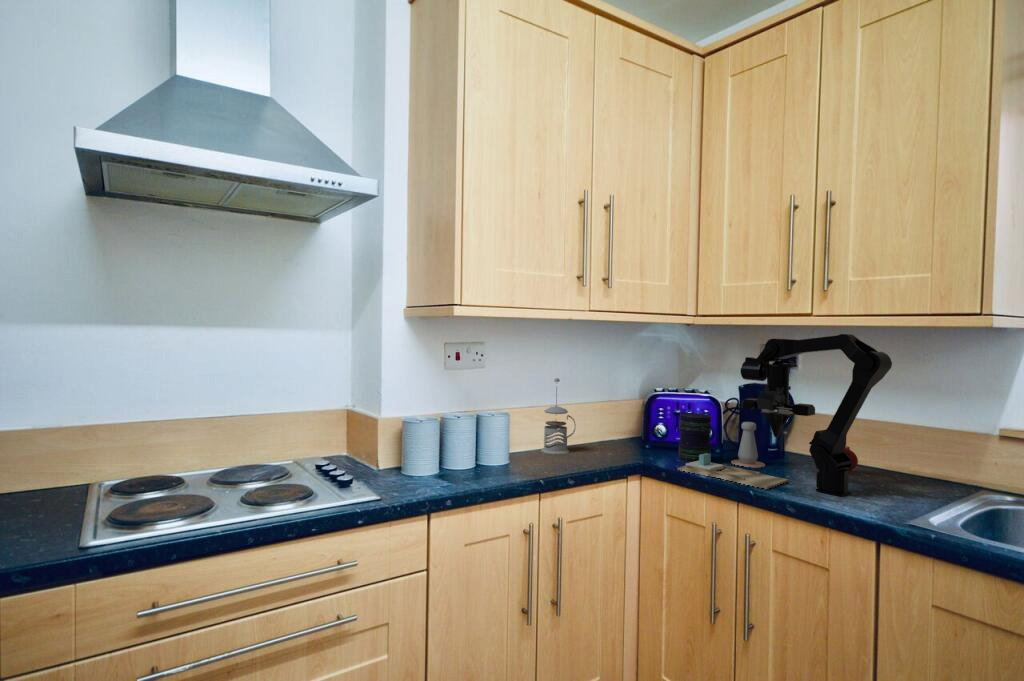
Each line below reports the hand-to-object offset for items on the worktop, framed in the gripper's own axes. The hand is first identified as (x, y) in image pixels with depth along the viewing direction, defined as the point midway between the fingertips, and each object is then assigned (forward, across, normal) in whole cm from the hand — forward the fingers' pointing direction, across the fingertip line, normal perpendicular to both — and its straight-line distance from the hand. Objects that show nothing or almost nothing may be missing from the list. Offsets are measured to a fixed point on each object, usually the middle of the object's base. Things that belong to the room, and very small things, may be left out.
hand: (776, 436), depth 165 cm
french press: (+12, -64, -23) cm, 69 cm away
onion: (+12, +10, +26) cm, 30 cm away
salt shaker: (+12, -14, +12) cm, 22 cm away
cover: (+11, -18, -7) cm, 22 cm away
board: (+12, -9, -8) cm, 17 cm away
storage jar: (+12, -27, +2) cm, 30 cm away
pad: (+12, -14, +12) cm, 22 cm away
